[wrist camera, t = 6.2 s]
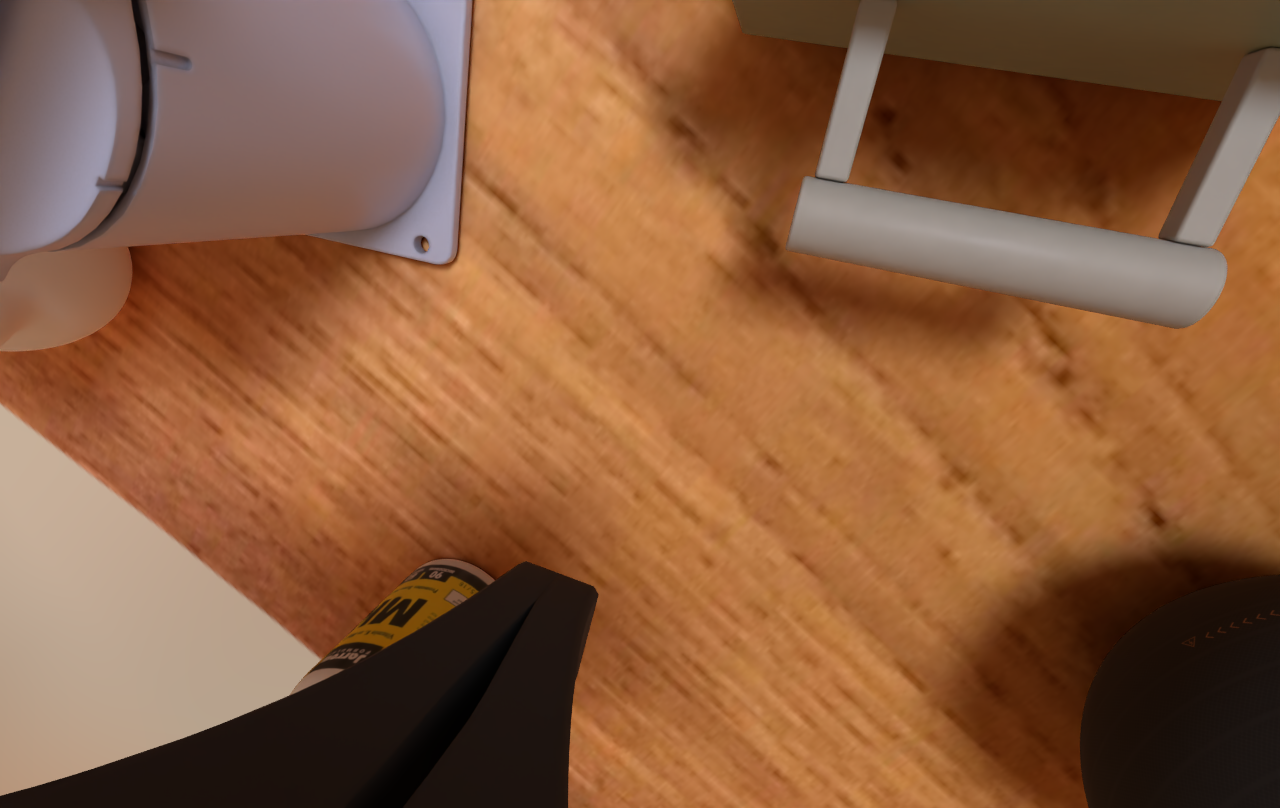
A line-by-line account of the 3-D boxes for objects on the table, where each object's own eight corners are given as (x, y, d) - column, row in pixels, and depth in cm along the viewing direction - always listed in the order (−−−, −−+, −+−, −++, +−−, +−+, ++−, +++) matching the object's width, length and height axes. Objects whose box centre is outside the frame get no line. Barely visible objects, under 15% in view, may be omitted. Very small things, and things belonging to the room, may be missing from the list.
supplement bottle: (463, 533, 22) (281, 715, 14) (543, 629, 22) (411, 855, 15) (385, 588, 24) (186, 776, 16) (461, 675, 24) (305, 898, 16)
